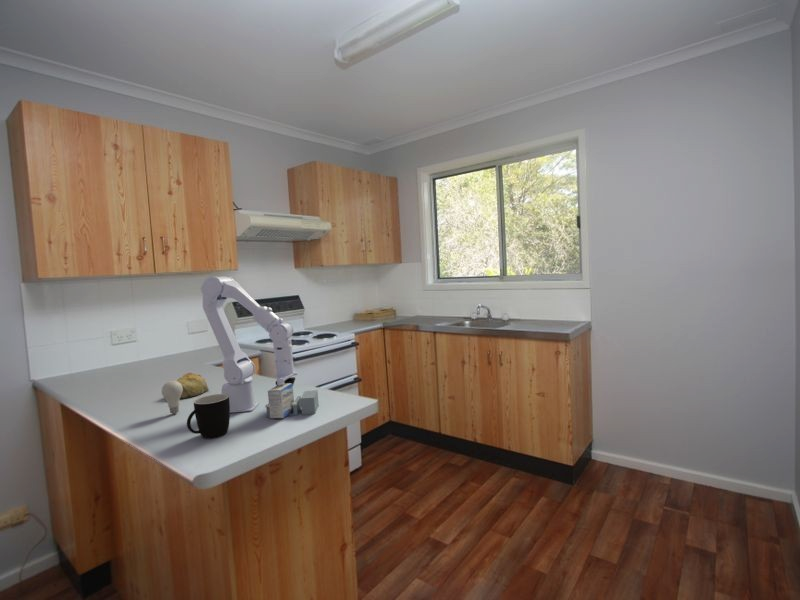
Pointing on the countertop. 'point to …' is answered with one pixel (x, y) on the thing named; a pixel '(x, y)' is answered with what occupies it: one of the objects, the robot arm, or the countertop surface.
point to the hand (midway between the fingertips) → (287, 401)
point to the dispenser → (303, 404)
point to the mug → (211, 415)
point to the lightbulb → (172, 395)
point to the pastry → (192, 385)
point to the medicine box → (281, 400)
